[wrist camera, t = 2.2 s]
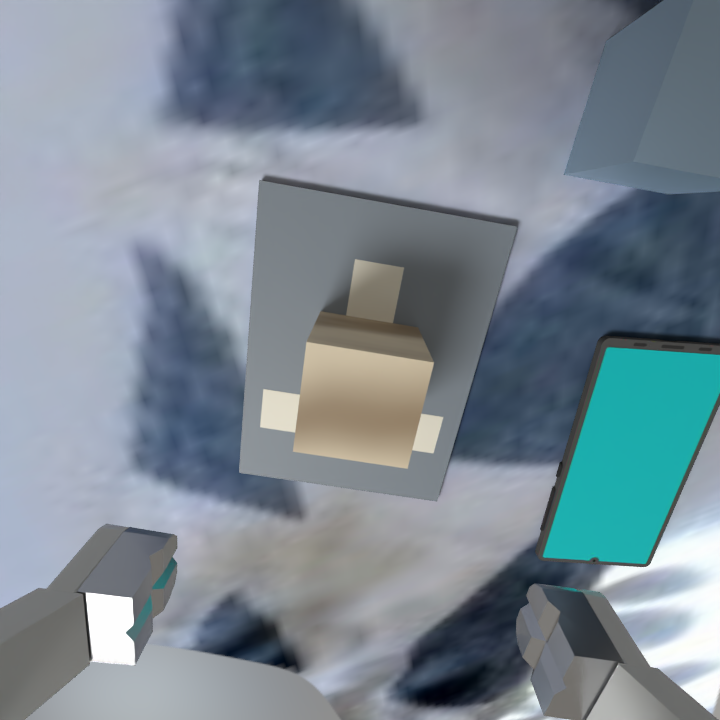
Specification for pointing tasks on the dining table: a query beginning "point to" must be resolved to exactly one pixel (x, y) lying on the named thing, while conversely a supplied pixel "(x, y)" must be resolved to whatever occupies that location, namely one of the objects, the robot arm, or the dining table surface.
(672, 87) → the steel-blue cube
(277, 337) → the letter card
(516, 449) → the dining table surface
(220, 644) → the dining table surface
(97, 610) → the robot arm
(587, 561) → the smartphone
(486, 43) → the dining table surface
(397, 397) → the birch block
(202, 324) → the dining table surface
